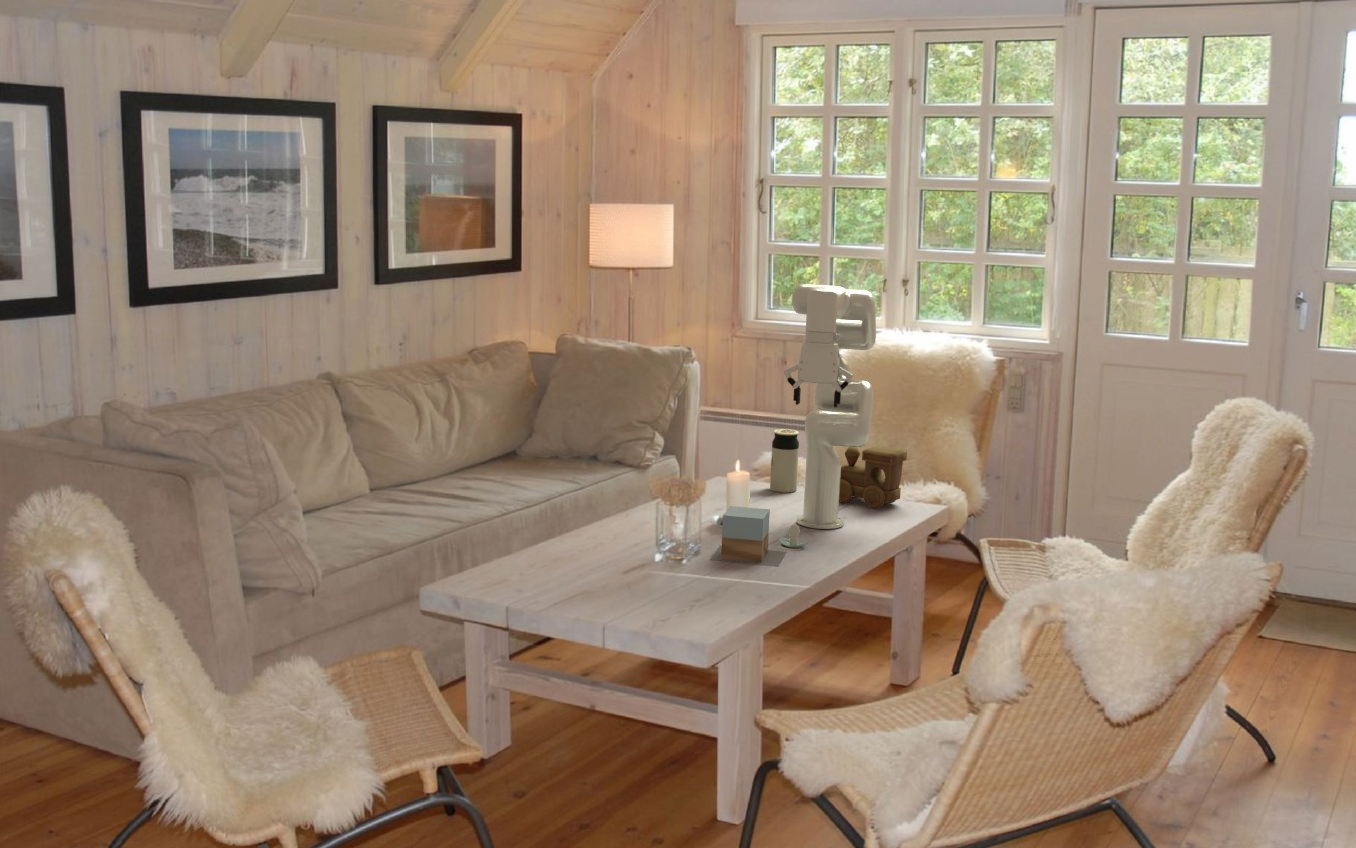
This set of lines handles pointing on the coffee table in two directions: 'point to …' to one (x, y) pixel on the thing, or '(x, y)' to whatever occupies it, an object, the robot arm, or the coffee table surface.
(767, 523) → the top block
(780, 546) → the pacifier
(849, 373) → the robot arm
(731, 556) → the bottom block
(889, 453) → the wooden toy train
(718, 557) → the mat
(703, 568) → the coffee table surface
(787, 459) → the travel mug
